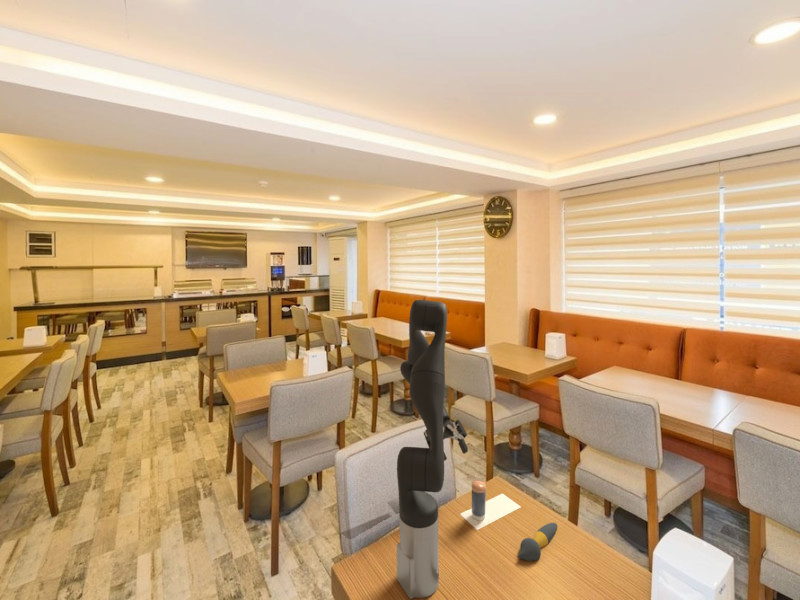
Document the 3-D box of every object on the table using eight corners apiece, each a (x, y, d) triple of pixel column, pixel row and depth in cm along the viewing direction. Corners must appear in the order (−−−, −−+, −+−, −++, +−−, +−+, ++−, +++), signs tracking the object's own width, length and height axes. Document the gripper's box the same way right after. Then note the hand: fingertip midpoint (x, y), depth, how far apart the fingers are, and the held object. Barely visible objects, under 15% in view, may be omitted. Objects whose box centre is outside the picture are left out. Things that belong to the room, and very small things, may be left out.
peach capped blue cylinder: (478, 523, 102) (478, 490, 101) (468, 515, 106) (468, 483, 105) (488, 518, 105) (488, 486, 104) (478, 509, 108) (479, 479, 107)
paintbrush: (542, 522, 105) (543, 506, 104) (560, 530, 101) (560, 514, 101) (513, 564, 90) (513, 546, 90) (532, 576, 87) (532, 557, 86)
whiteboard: (476, 537, 99) (476, 532, 99) (455, 518, 107) (455, 513, 107) (525, 511, 109) (525, 507, 109) (503, 495, 117) (503, 491, 117)
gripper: (420, 409, 115) (442, 458, 107) (455, 400, 123) (478, 445, 114) (412, 418, 120) (432, 467, 112) (445, 409, 128) (467, 454, 119)
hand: (455, 456), depth 113 cm, fingers open, 8 cm apart
